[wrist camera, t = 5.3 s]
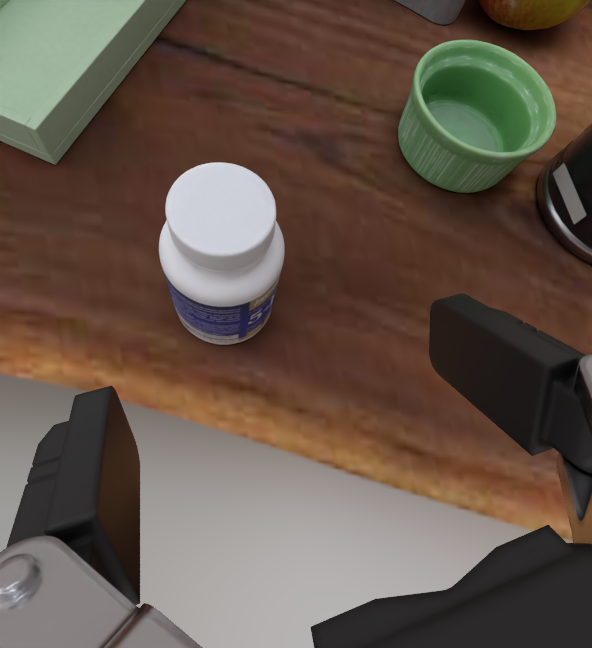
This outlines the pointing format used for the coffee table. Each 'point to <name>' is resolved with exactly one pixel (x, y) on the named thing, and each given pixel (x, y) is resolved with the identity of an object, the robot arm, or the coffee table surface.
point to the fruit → (532, 12)
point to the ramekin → (473, 115)
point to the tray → (68, 64)
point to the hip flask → (435, 9)
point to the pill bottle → (221, 251)
